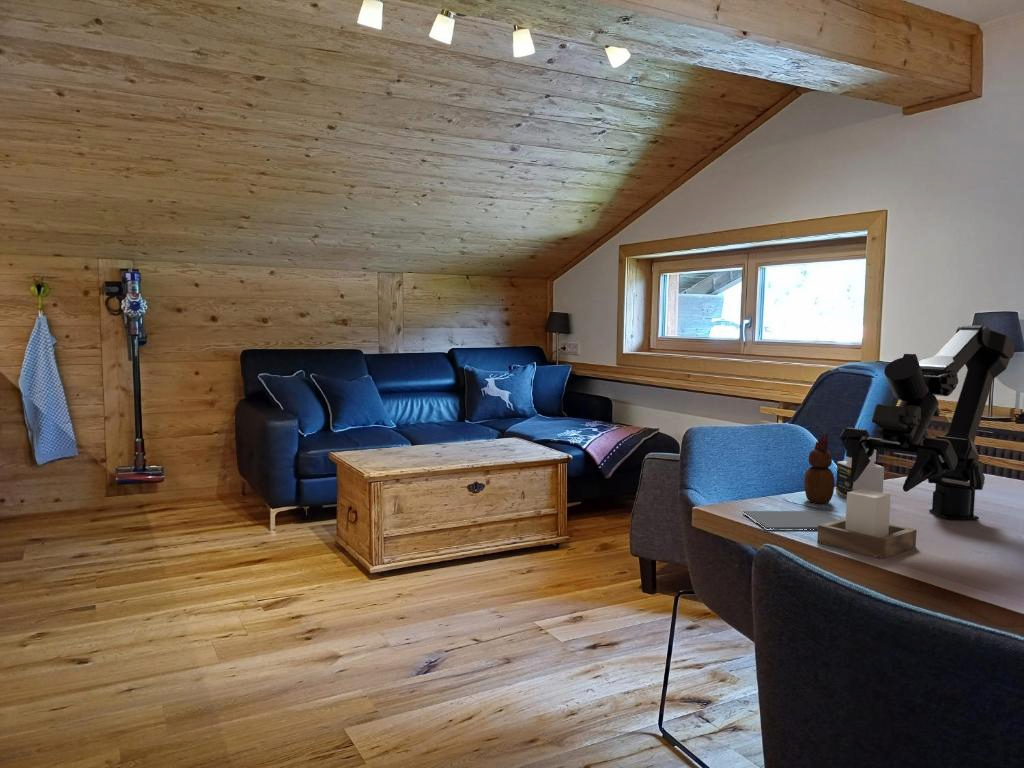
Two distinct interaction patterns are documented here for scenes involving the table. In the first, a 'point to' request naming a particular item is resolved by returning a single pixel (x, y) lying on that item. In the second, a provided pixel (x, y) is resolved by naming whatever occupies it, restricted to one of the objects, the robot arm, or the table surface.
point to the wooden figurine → (819, 474)
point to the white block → (868, 512)
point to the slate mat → (791, 519)
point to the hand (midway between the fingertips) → (877, 485)
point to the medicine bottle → (867, 480)
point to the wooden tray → (867, 539)
